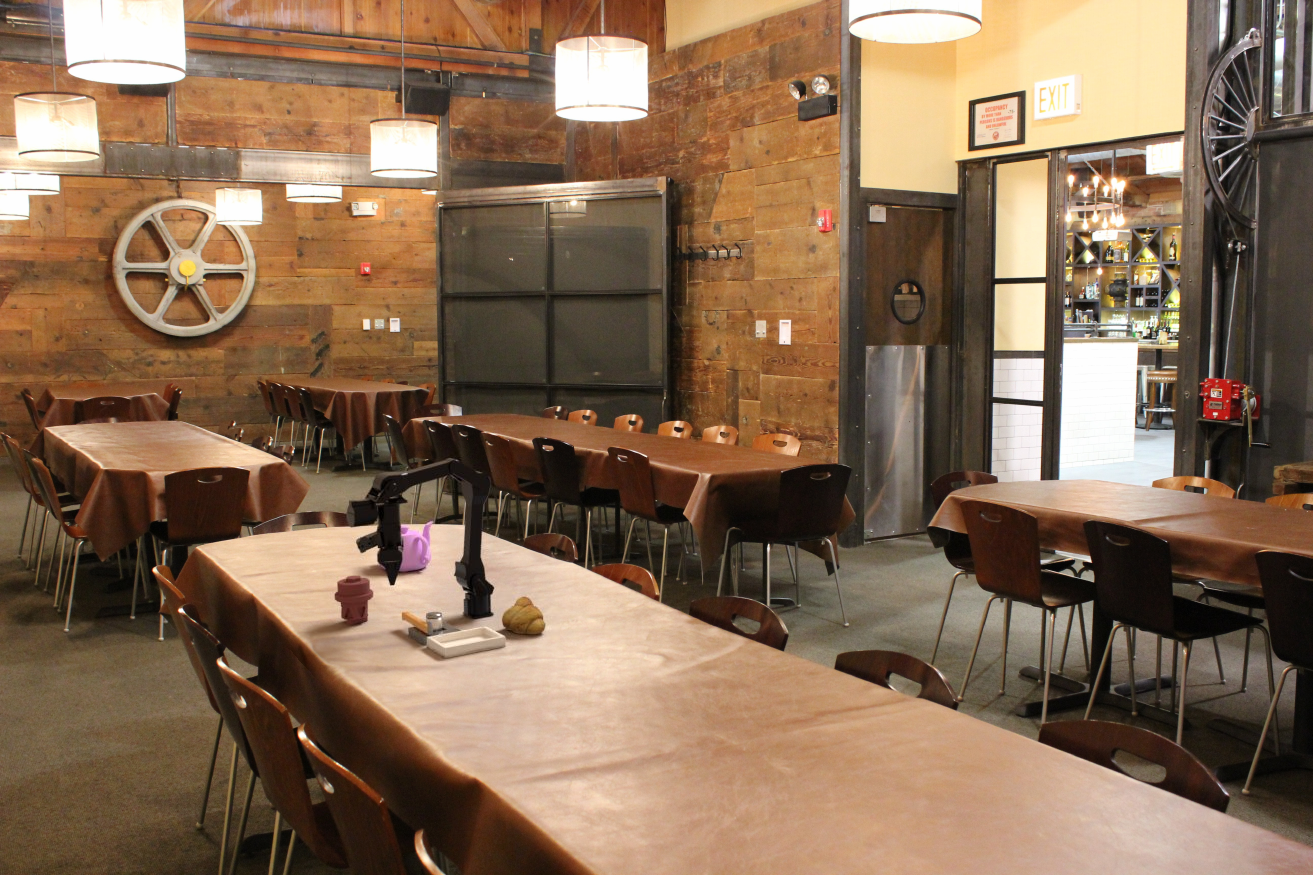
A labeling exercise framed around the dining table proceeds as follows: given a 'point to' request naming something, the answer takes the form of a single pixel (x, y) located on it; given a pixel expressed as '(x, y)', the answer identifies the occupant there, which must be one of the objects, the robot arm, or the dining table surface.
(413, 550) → the teapot
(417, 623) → the bar
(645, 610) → the dining table surface
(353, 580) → the mechanical component
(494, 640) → the tray
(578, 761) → the dining table surface
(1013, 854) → the dining table surface
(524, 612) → the bread roll
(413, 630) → the hitch block
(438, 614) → the salt shaker
